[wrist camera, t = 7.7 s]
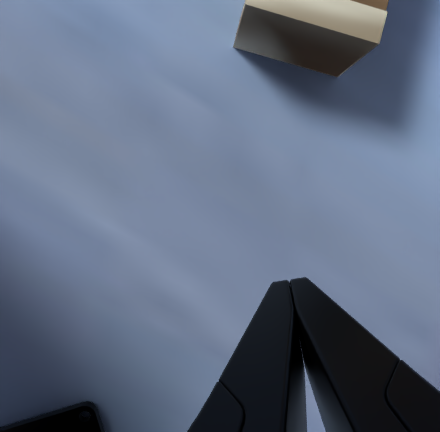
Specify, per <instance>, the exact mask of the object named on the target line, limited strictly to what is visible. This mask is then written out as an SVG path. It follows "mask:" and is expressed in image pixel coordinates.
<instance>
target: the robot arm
mask: <svg viewBox="0 0 440 432" xmlns="http://www.w3.org/2000/svg"><path fill="white" fill-rule="evenodd" d="M290 287H291V288H290ZM298 332H299V333H298ZM300 343H301V344H300ZM301 349H302V350H301ZM302 354H303V356H302ZM303 360H304V363H303ZM304 364H305V368H306V372H307V375H308V378H309V381H310V384H311V387H312V390H313V393H314V397H315V400H316V403H317V406H318V409H319V412H320V415H321V418H322V421H323V424H324V427H325V430H326V432H440V391H439V390H437V389H436V388H435V387H434V386H432V385H431V384H430V383H429V382H428V381H426V380H425V379H424V378H423V377H421V376H420V375H419V374H418V373H417V372H415V371H414V370H413V369H412V368H411V367H410V366H409V365H407V364H406V363H405V362H404V361H403V360H400V358H399V357H397V356H396V355H395V354H394V353H393V352H392V351H391V350H389V349H388V348H387V347H386V346H385V345H384V344H383V343H381V342H380V341H379V340H378V339H377V338H376V337H374V336H373V335H372V334H371V333H370V332H369V331H368V330H366V329H365V328H364V327H363V326H362V325H361V324H360V323H358V322H357V321H356V320H355V319H354V318H353V317H351V316H350V315H349V314H348V313H347V312H346V311H345V310H343V309H342V308H341V307H340V306H339V305H338V304H337V303H335V302H334V301H333V300H332V299H331V298H330V297H329V296H327V295H326V294H325V293H324V292H323V291H322V290H320V289H319V288H318V287H317V286H316V285H315V284H314V283H312V282H311V281H310V280H309V279H308V278H306V277H303V278H297V279H291V280H290V283H289V281H287V280H283V281H277V282H273V283H272V284H271V285H270V287H269V289H268V291H267V293H266V294H265V296H264V298H263V300H262V302H261V303H260V305H259V307H258V309H257V311H256V313H255V314H254V316H253V318H252V320H251V322H250V324H249V325H248V327H247V329H246V331H245V333H244V335H243V336H242V338H241V340H240V342H239V344H238V346H237V347H236V349H235V351H234V353H233V355H232V356H231V358H230V360H229V362H228V364H227V366H226V367H225V369H224V371H223V373H222V375H221V377H220V378H219V382H217V383H216V385H215V386H214V388H213V390H212V392H211V394H210V396H209V397H208V399H207V401H206V402H205V404H204V406H203V408H202V409H201V411H200V413H199V414H198V416H197V418H196V419H195V420H194V422H193V423H192V425H191V426H190V428H189V429H188V431H187V432H307V418H306V393H305V372H304ZM83 411H87V412H89V414H90V416H89V417H84V416H83V415H82V414H81V412H83ZM0 432H105V430H104V427H103V424H102V421H101V418H100V415H99V411H98V408H97V407H96V405H95V404H94V403H92V402H89V401H86V402H81V403H78V404H75V405H72V406H68V407H65V408H62V409H59V410H55V411H52V412H49V413H46V414H42V415H39V416H36V417H33V418H29V419H26V420H23V421H20V422H16V423H13V424H10V425H7V426H3V427H0Z"/></svg>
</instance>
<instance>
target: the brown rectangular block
mask: <svg viewBox="0 0 440 432" xmlns="http://www.w3.org/2000/svg"><path fill="white" fill-rule="evenodd" d="M388 1H389V0H245V3H244V7H243V11H242V14H241V18H240V21H239V25H238V29H237V33H236V37H235V41H234V45H233V47H234V48H237V49H241V50H244V51H248V52H251V53H255V54H258V55H262V56H265V57H268V58H272V59H275V60H279V61H282V62H286V63H289V64H293V65H296V66H300V67H303V68H307V69H310V70H314V71H317V72H321V73H324V74H328V75H331V76H335V77H339V76H340V75H342V74H343V73H344V72H345V71H346V70H348V69H349V68H350V67H351V66H353V65H354V64H355V63H356V62H358V61H359V60H360V59H361V58H362V57H364V56H365V55H366V54H367V53H369V52H370V51H371V50H372V49H374V48H375V47H376V46H377V45H378V44H379V43H380V39H381V35H382V31H383V27H384V24H385V20H386V16H387V11H386V9H387V5H388Z"/></svg>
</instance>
